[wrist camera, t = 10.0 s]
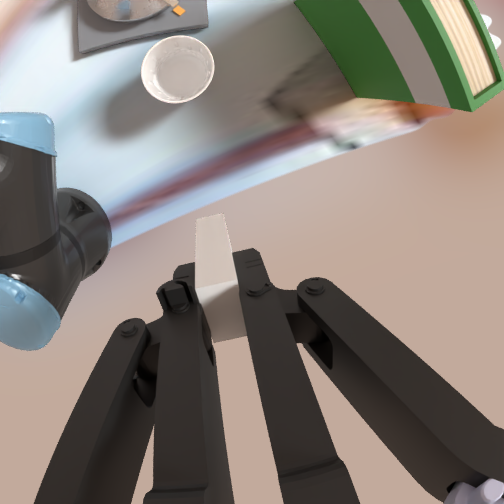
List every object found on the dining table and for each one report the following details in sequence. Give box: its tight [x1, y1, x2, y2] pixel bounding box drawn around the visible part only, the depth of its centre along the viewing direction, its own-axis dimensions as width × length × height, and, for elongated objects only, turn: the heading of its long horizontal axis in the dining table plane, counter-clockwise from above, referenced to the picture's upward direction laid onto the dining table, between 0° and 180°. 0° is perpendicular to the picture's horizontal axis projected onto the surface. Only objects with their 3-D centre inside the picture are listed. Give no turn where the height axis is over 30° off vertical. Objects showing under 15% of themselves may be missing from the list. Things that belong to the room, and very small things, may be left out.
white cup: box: [141, 36, 214, 103], centre depth 32 cm, size 8×8×10 cm
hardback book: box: [294, 0, 504, 112], centre depth 26 cm, size 18×7×24 cm, turn 35°
